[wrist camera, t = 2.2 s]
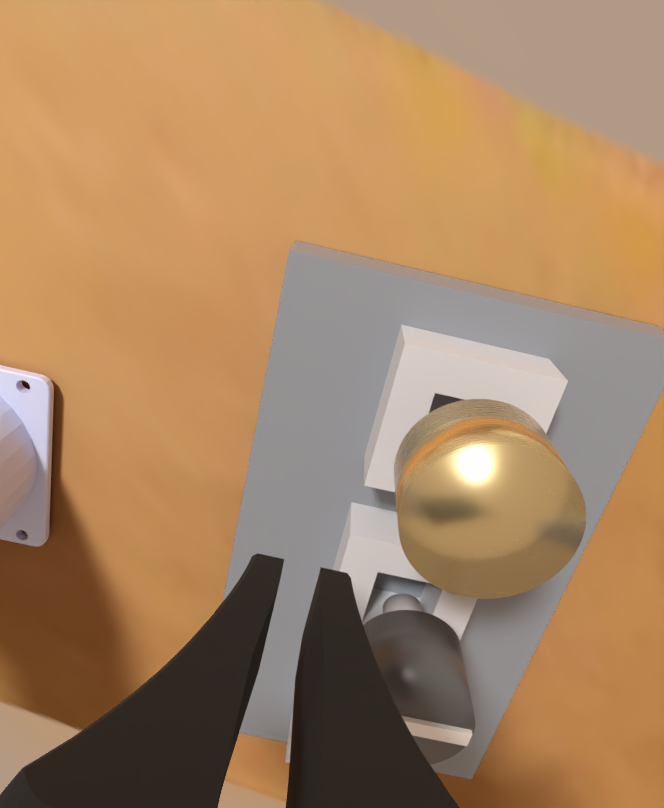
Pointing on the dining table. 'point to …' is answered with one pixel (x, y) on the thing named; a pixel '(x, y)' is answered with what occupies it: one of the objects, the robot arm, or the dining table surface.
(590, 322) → the mount
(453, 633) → the pot knob
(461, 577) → the knob
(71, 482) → the dining table surface
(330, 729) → the robot arm
